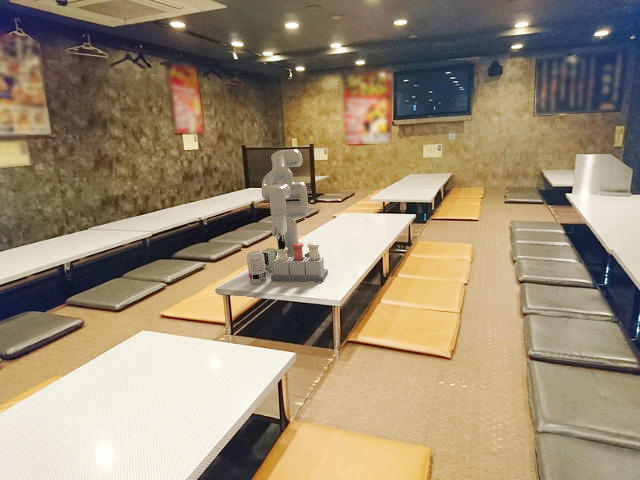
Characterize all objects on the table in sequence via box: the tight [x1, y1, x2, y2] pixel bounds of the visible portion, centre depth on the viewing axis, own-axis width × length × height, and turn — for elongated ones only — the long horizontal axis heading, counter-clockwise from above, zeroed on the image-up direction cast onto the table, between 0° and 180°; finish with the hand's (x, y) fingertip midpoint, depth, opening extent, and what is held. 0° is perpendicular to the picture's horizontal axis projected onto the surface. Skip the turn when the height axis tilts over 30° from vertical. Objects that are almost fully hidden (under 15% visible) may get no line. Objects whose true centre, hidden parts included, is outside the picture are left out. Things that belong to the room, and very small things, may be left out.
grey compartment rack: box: [270, 256, 329, 283], centre depth 208 cm, size 12×26×10 cm, turn 78°
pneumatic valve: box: [261, 247, 278, 272], centre depth 223 cm, size 6×12×12 cm, turn 156°
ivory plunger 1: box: [275, 247, 288, 261], centre depth 209 cm, size 6×6×8 cm
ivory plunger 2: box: [307, 242, 320, 261], centre depth 205 cm, size 6×6×8 cm
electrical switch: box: [304, 251, 321, 257], centre depth 225 cm, size 9×5×9 cm, turn 152°
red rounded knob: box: [292, 242, 304, 261], centre depth 206 cm, size 6×6×8 cm
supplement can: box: [246, 250, 267, 286], centre depth 204 cm, size 8×8×15 cm
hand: (281, 248), depth 207 cm, fingers closed
